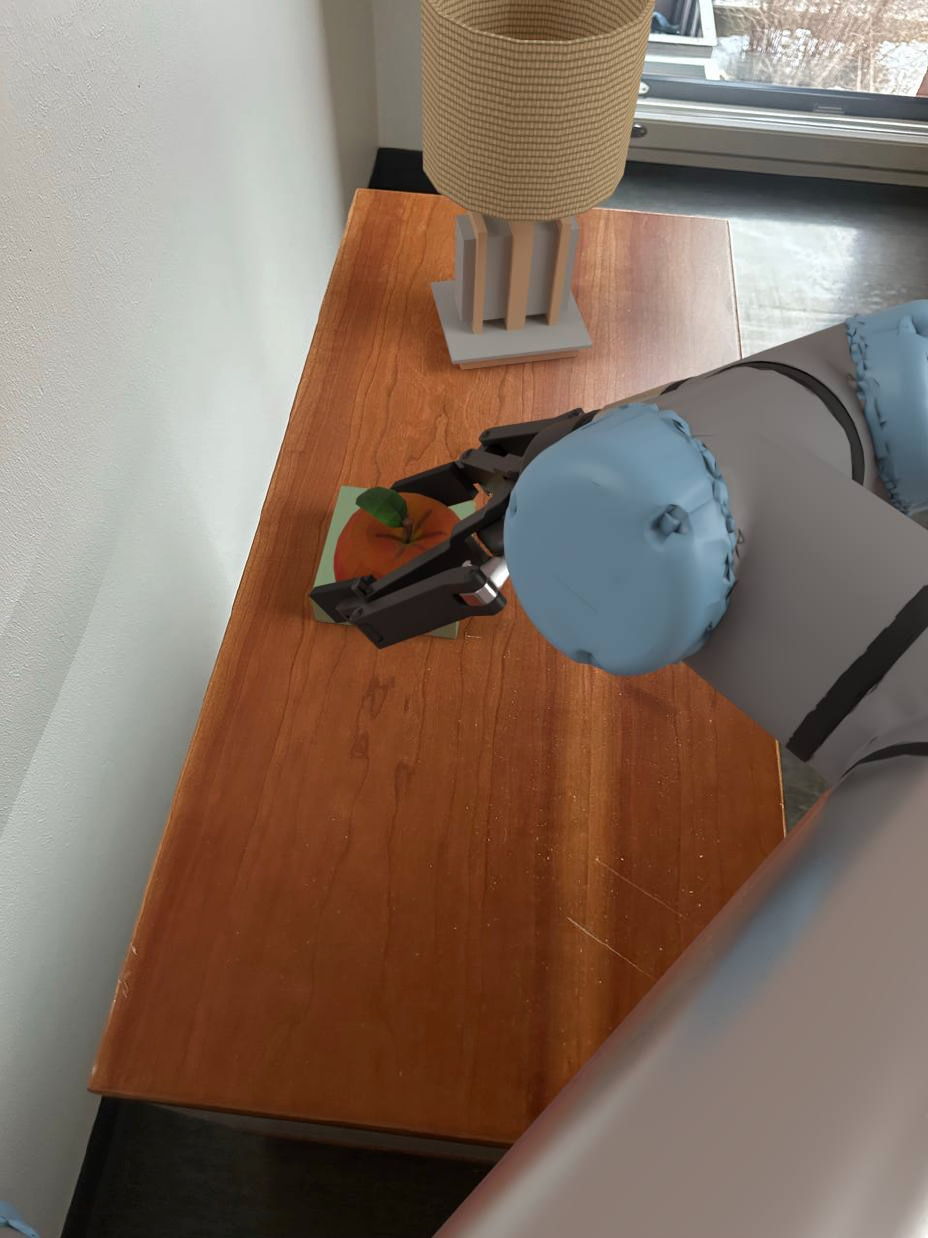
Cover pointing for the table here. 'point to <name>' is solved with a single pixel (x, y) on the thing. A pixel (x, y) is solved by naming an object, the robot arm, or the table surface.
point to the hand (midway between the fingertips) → (366, 550)
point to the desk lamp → (524, 158)
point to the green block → (339, 520)
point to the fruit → (389, 532)
